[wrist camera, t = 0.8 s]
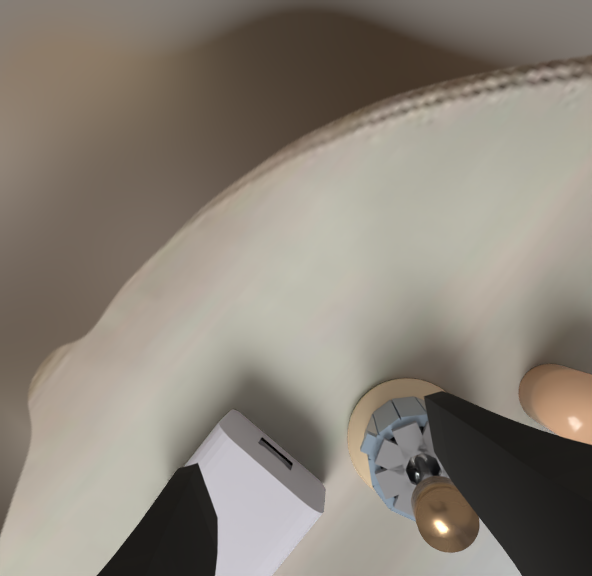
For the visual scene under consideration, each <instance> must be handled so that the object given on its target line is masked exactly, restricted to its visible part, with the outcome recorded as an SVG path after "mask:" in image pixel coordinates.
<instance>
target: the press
mask: <svg viewBox="0 0 592 576" xmlns="http://www.w3.org/2000/svg"><path fill="white" fill-rule="evenodd" d="M440 391H444V390H443V389H441V388H440V387H438V386H436V385H434V384H432V383H430V382H427V381H424V380H419V379H413V378H399V379H394V380H389V381H386V382H383V383H381V384H379V385H377V386H375V387H374V388H372V389H371V390H370V391H368V392H367V393H366V394H365V395H364V396H363V397H362V398H361V399H360V401H359V402H358V403H357V405H356V407H355V408H354V410H353V412H352V415H351V418H350V421H349V426H348V436H347V438H348V449H349V454H350V457H351V460H352V463H353V465H354V467H355V469H356V471H357V472H358V474H359V475H360V477H361V478H362V479H363V480H364V482H365V483H366V484H367V485H368V486H369V487H371V488H372V489H373V490H374V491H376V492H377V494H378V495H379V496H380V498H381V499H382V500H383V502H384V503H385V504H386V505H387V507H388V508H389V509H391V511H394V512H396V513H398V514H400V515H402V516H404V517H407V518H409V519H411V520H413V521H415V522H416V520H415V517H414V514H413V511H412V507H411V497H412V493H413V491H414V489H415V487H416V486H417V485H418V484H417V483H415V482H413V481H411V480H410V479H409V477H408V475H407V473H406V467H407V465H408V462H409V460H410V458H411V457H413V456H416V455H418V454H421V453H425V454H427V455H430V456H432V457H434V458H436V460H437V462H438V464H439V466H440V471H439V473H438V476H444V477H447V478H449V476H448V475H447V473H446V471H445V470H444V468H443V466H442V465H441V463H440V461H439V459H438V458H437V456H436V454H435V453H434V449H433V443H432V438H431V433H430V427H429V422H428V417H427V411H426V406H425V400H424V396H426V395H430V394H433V393H436V392H440ZM444 392H446V391H444ZM419 427H424V428H423V431H422V433H421V431H420V429H419ZM393 437H395V440H396V442H397V443H396V442H394V441H391V438H393Z"/></svg>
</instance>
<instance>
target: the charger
mask: <svg viewBox="0 0 592 576" xmlns="http://www.w3.org/2000/svg"><path fill="white" fill-rule="evenodd" d="M261 437H263V438H264V439H265V440H266V441H268V442H269V443H270V444H271V445H272V446H273V447H275V448H276V449H277V450H278V451H279V452H280V453H282V454H283V455H284V456H285V457H286V458H287V459H289V460H290V461H291V462H292V463H293V465H290V464H289V463H288V462H287V461H286V460H285V459H283V458H282V457H281V456H280V455H279V454H278V453H276V452H275V451H274V450H273V449H272V448H271V447H269V446H268V445H267V444H266V443H265V442H264V441H262V440H261ZM196 463H198V464H199V467H200V470H201V473H202V475H203V478H204V481H205V484H206V487H207V489H208V492H209V495H210V498H211V500H212V503H213V506H214V509H215V512H216V514H217V517H218V555H217V564H216V573H215V576H272V575H273V574H274V572H275V571H276V570H277V569H278V568H279V566H280V565H281V564H282V563H283V561H284V560H285V559H286V558H287V556H288V555H289V554H290V553H291V552H292V550H293V549H294V548H295V547H296V545H297V544H298V543H299V542H300V540H301V539H302V538H303V537H304V535H305V534H306V533H307V532H308V531H309V529H310V528H311V527H312V526H313V524H314V523H315V522H316V521H317V519H318V518H319V517H320V516H321V515H322V513H323V512H324V502H325V491H326V489H325V487H324V485H323V484H322V482H321V481H320V480H319V479H318V478H316V477H315V476H314V475H313V474H312V473H311V472H310V471H308V470H307V469H306V468H305V467H304V466H302V465H301V464H300V463H299V462H298V461H297V460H295V459H294V458H293V457H292V456H291V455H290V454H288V453H287V452H286V451H285V450H284V449H283V448H281V447H280V446H279V445H278V444H277V443H275V442H274V441H273V440H272V439H271V438H270V437H268V436H267V435H266V434H265V433H264V432H263V431H261V430H260V429H259V428H258V427H257V426H255V425H254V424H253V423H252V422H251V421H250V420H248V419H247V418H246V417H245V416H244V415H242V414H241V413H240V412H239V411H237V410H234V409H231V410H230V411H229V412H228V413H227V414H226V415H225V416H224V417H223V418H222V419H221V420H220V421H219V422H218V423H217V425H216V426H215V427H214V429H213V430H212V431H211V432H210V434H209V435H208V436H207V437H206V439H205V440H204V441H203V443H202V444H201V445H200V446H199V448H198V449H197V450H196V452H195V453H194V454H193V455H192V457H191V458H190V459H189V461H188V462H187V463H186V464H185V466H189V465H192V464H196ZM185 466H184V467H185Z"/></svg>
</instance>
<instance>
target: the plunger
mask: <svg viewBox="0 0 592 576" xmlns="http://www.w3.org/2000/svg"><path fill="white" fill-rule="evenodd" d="M423 428H424V427H419V429H420V431H421V433H422V431H423ZM391 441H394V442H396V440H395V437H393V438H391ZM396 443H397V442H396ZM439 471H440V466H439V464H438V462H437V460H436V458H434V457H432V456H430V455H427V454H425V453H421V454H418V455H416V456H413V457H411V458H410V460H409V462H408V465H407V467H406V473H407V475H408V477H409V479H410V480H411V481H413V482H415V483H417V484H418V485H417V486H416V487H415V489H414V491H413V493H412V497H411V507H412V511H413V514H414V517H415V520H416V523H417V526H418V529H419V532H420V534H421V536H422V537H423V539H424V540H425V541H426V542H427V543H428V544H429V545H430V546H432V547H433V548H435V549H437V550H439V551H443V552H449V553H453V552H459V551H462V550H464V549H466V548H467V547H469V546H470V545H471V544H472V543H473V542H474V540H475V539H476V537H477V535H478V532H479V517H478V515H477V514H476V512H475V511H474V510H473V509H472V507H471V506H470V505H469V503H468V502H467V501H466V499H465V498H464V497H463V496H462V494H461V493H460V492H459V490H458V489H457V488H456V486H455V485H454V484H453V482H452V481H451V479H450V478H447V477H444V476H438V473H439Z"/></svg>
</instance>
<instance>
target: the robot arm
mask: <svg viewBox="0 0 592 576" xmlns="http://www.w3.org/2000/svg"><path fill="white" fill-rule="evenodd" d="M424 400H425V406H426V411H427V417H428V422H429V427H430V433H431V438H432V443H433V449H434V453H435V454H436V456H437V458H438V459H439V461H440V463H441V465H442V466H443V468H444V470H445V471H446V473H447V475H448V476H449V478H450V479H451V481H452V482H453V484H454V485H455V486H456V488H457V489H458V490H459V492H460V493H461V494H462V496H463V497H464V498H465V499H466V501H467V502H468V503H469V505H470V506H471V507H472V509H473V510H474V511H475V512H476V514H477V515H478V516H479V518H480V519H481V520H482V521H483V523H484V524H485V525H486V527H487V528H488V529H489V530H490V532H491V533H492V534H493V536H494V537H495V538H496V540H497V541H498V542H499V543H500V545H501V546H502V547H503V549H504V550H505V551H506V553H507V554H508V556H509V557H510V558H511V560H512V561H513V563H514V564H515V565H516V567H517V568H518V570H519V572H520V573H521V575H522V576H592V445H591V444H587V443H583V442H579V441H575V440H572V439H568V438H565V437H561V436H558V435H554V434H551V433H548V432H544V431H541V430H538V429H535V428H533V427H530V426H527V425H524V424H521V423H519V422H516V421H513V420H511V419H508V418H506V417H503V416H501V415H498V414H496V413H493V412H491V411H488V410H486V409H484V408H481V407H479V406H477V405H474V404H472V403H470V402H468V401H465V400H463V399H461V398H459V397H456V396H454V395H452V394H449V393H447V392H444V391H440V392H436V393H433V394H430V395H426V396H424ZM217 555H218V517H217V514H216V512H215V509H214V506H213V503H212V500H211V498H210V495H209V492H208V489H207V487H206V484H205V481H204V478H203V475H202V473H201V470H200V467H199V464H198V463H196V464H192V465H189V466H185V467H182V468H179V469H178V470H177V471H176V472H175V473H174V475H173V476H172V478H171V479H170V480H169V482H168V483H167V485H166V486H165V487H164V489H163V490H162V492H161V493H160V495H159V496H158V498H157V499H156V500H155V502H154V503H153V505H152V506H151V507H150V509H149V510H148V511H147V513H146V514H145V516H144V517H143V518H142V520H141V521H140V523H139V524H138V525H137V527H136V528H135V529H134V530H133V532H132V533H131V534H130V536H129V537H128V538H127V539H126V541H125V542H124V543H123V544H122V546H121V547H120V548H119V550H118V551H117V552H116V553H115V555H114V556H113V557H112V558H111V560H110V561H109V562H108V563H107V564H106V566H105V567H104V568H103V569H102V570H101V571H100V573H99V574H98V575H97V576H215V573H216V564H217Z"/></svg>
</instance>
